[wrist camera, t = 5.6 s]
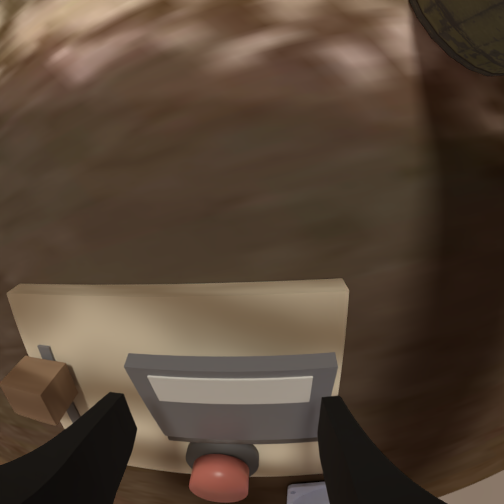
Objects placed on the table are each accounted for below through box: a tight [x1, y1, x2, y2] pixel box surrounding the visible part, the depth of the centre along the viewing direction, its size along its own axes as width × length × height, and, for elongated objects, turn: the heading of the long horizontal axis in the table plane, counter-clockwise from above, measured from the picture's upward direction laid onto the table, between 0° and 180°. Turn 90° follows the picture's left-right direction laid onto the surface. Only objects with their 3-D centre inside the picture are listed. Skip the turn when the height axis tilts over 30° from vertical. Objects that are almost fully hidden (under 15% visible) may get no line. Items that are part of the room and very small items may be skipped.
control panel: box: [7, 278, 349, 477], centre depth 18 cm, size 15×20×2 cm
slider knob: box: [0, 356, 78, 426], centre depth 15 cm, size 2×4×3 cm, turn 93°
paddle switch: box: [124, 352, 338, 440], centre depth 15 cm, size 7×9×1 cm
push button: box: [189, 454, 249, 503], centre depth 16 cm, size 4×4×2 cm
